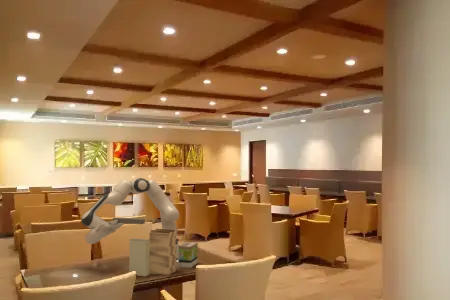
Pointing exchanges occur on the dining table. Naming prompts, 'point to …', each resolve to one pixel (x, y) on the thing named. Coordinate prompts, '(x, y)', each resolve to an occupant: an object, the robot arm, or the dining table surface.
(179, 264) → the tea box
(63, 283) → the dining table surface
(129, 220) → the bar
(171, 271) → the stand
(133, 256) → the block
